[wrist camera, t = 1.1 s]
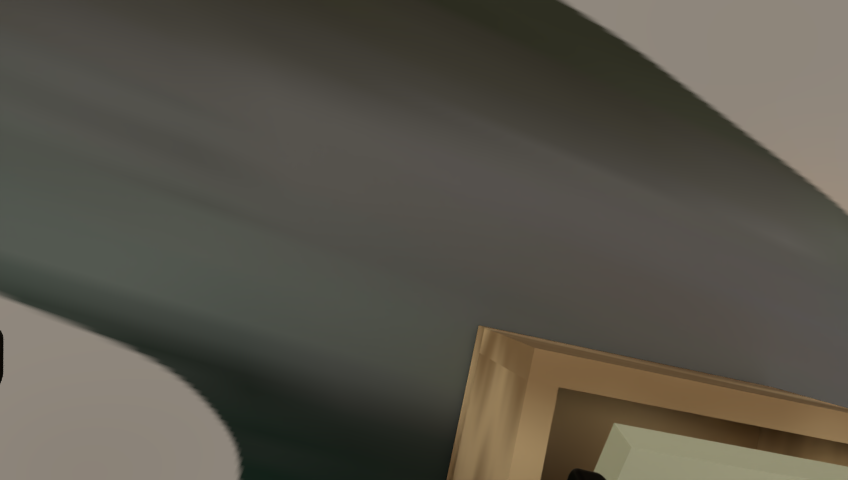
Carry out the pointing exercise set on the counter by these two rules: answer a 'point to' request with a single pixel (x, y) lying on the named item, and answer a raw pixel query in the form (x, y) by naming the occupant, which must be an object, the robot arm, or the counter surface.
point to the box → (615, 410)
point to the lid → (699, 460)
